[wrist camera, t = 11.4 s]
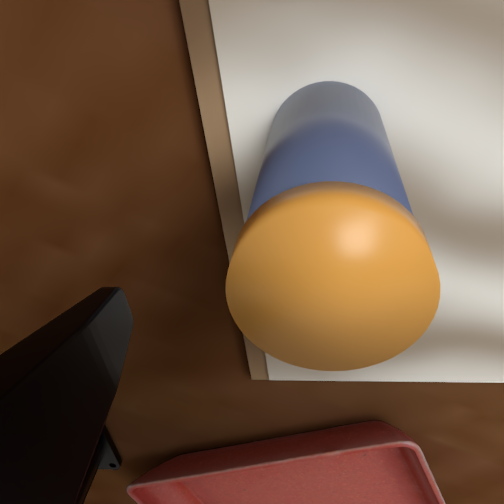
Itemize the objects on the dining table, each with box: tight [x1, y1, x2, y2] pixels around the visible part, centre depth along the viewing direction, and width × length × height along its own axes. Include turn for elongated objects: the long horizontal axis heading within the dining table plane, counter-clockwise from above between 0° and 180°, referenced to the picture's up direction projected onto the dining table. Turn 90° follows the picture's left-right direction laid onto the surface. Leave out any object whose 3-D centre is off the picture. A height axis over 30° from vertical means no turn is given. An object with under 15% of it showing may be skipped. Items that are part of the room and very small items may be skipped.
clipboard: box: [179, 0, 504, 383], centre depth 18 cm, size 20×15×2 cm
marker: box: [225, 81, 440, 371], centre depth 13 cm, size 4×4×9 cm
